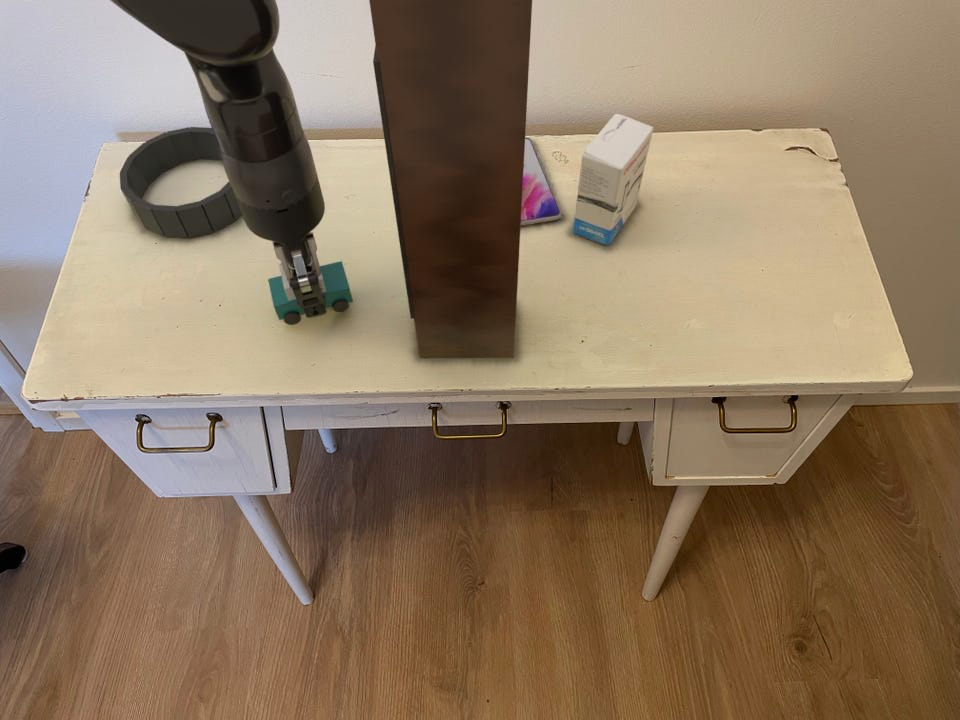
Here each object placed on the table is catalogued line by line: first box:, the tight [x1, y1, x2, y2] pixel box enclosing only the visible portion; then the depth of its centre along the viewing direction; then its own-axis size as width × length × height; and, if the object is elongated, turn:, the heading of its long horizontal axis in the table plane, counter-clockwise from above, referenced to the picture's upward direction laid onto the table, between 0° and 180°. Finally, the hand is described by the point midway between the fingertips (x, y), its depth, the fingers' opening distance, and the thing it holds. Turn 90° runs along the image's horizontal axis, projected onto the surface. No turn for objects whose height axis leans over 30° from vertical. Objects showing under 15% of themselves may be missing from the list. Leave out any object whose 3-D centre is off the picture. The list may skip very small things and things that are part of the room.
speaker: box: [368, 0, 533, 359], centre depth 62 cm, size 10×7×40 cm
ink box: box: [572, 113, 654, 247], centre depth 83 cm, size 9×5×12 cm, turn 148°
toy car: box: [267, 257, 354, 326], centre depth 77 cm, size 8×5×5 cm, turn 108°
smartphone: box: [521, 136, 562, 226], centre depth 91 cm, size 7×1×15 cm
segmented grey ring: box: [119, 126, 243, 239], centre depth 89 cm, size 15×15×4 cm
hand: (312, 297), depth 79 cm, fingers closed on toy car, 4 cm apart
